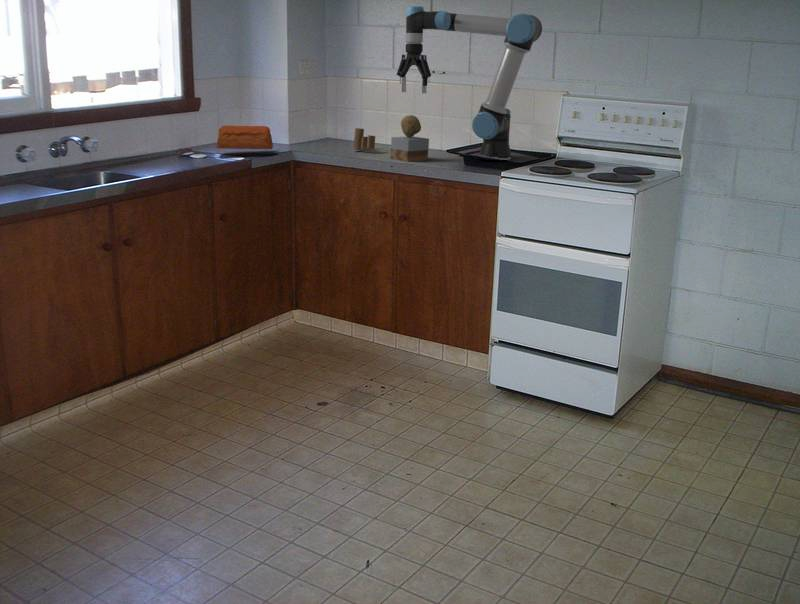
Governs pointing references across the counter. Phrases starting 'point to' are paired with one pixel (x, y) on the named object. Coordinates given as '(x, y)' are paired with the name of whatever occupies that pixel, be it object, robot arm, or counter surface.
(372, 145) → the wooden block set
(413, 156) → the tower base slab
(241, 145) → the bread
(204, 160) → the counter surface
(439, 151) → the counter surface
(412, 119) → the natural sponge
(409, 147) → the tower top slab
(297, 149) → the counter surface
